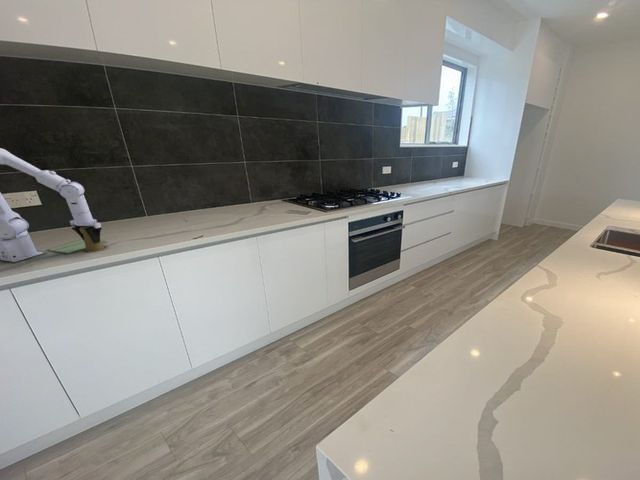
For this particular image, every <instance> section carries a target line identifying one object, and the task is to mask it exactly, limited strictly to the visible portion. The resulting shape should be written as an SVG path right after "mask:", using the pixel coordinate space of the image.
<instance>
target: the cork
mask: <svg viewBox="0 0 640 480" xmlns="http://www.w3.org/2000/svg"><path fill="white" fill-rule="evenodd" d="M86 228H89V227H88V226H81V227H80V228H79V230H80V232H81V233H82V234H83V237H84V241H85V246H86V248H85V250H86V252H89V253H91V252H97V251H101V250H103V249H105V246H104V243H102V242H103V241H101V240H100V242H98V243H94V242H93V241H92V239H91V237H90V236H89V234H88V233H87V232H86V231H85V230H84V229H86Z"/></svg>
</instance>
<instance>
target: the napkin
mask: <svg viewBox="0 0 640 480" xmlns="http://www.w3.org/2000/svg"><path fill="white" fill-rule="evenodd" d="M101 242H102V244H104V241H101ZM84 249H85V250H86V246H85V242H84V240H83V239H80V240H76V241H74V242H70V243H67V244H62V245H60V246H56V247H53V248H49V249H47V251H49V252H55V253H62V254H68V255H69V254H72V253H76V252H78V251H82V250H84Z"/></svg>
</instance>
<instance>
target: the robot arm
mask: <svg viewBox="0 0 640 480" xmlns="http://www.w3.org/2000/svg"><path fill="white" fill-rule="evenodd" d="M0 165H6V166H8V167H11V168H13V169H15V170H18V171H20V172H23V173H25V174H27V175H29V176H31V177H34V178H35V180H36V181H37V183H39V184H42V185H44V186H45V187H47V188H49V189H51V190H53V191H56V192H58V193H59V194H60V196H61V197H63V199H64V198H65V200H66V203H67V205H68V209H69V210H70V213H71V216H72V219H71V220H69V223H70V226H73V227H71V230H72V231H74V232H75V233H76V234H78V236H79V237H80V239H81V240H84V237H83V234H82V233H81V232H80V230H79V228H80V227H81V226H88V227H89V228H86V229H84V230H85V231H86V232H87V233H88V234H89V236H90V237H91V239H92V241H93V242H94V243H98V242H100V241H101V231H102V229H103V227H102V224H101V222H98V221H97V219H94V217H93V215H92V212H91V211H90V207H89V205H88V202H87V199H86V197H85V195H84V194H85V188H84V186H83V185H82V184H80V183H79V182H77V181H72V180H70V179H66V178H64V177H62V176H60V175H58V174H57V172H55V170H47V169H45V170H41V169H40V168H38V167H36V166H35V165H32V164H31V163H29V162H27V161H25V160H24V159H21V158H19V157H17V156H16V155H14V154H12V153H11V152H10V151H8V150H6V149H5V148H1V147H0ZM29 228H30V225H29V222H28V221H27V220H25V218H23V217H21V215H20V214H19V213H17V212H15V211H14V210H12V208H11V207H10V205H9V204H8V202H7V201H6V199H5V197H4V196H3V195H2V192H0V261H6V262H11V263H17V262H19V261H23V260H26V259H30V258H34V257H37V256H41V255H43V254H44V252H42V251H37V249H36V246H35V244H34V242H33V240H32V237H31V236H30V234H29V231H28V230H29ZM84 242H85V241H84Z"/></svg>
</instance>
